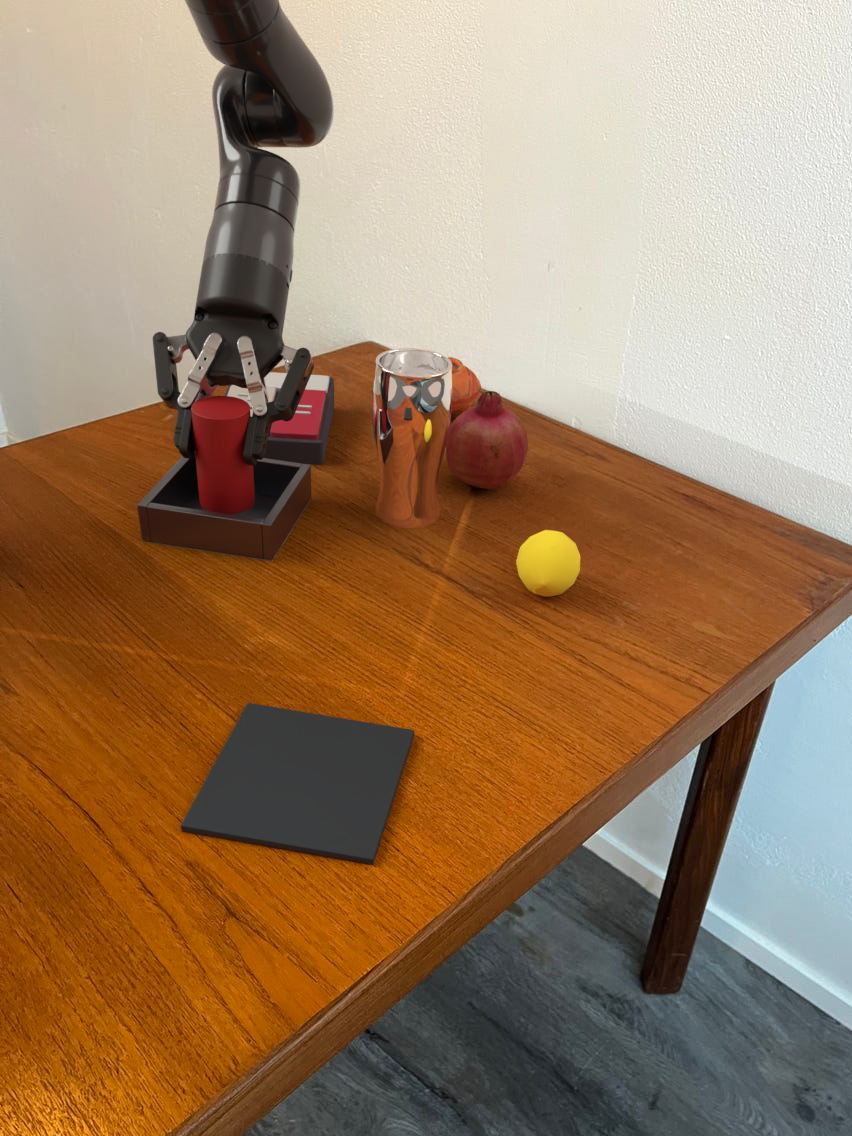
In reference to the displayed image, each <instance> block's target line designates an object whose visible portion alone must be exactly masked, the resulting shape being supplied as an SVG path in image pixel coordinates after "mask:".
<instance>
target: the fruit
mask: <svg viewBox="0 0 852 1136" xmlns="http://www.w3.org/2000/svg"><path fill="white" fill-rule="evenodd" d="M528 452H529V438H528V434H527V430H526V428H525V426H524V423H523V422H522V420H521V418H520V417H519V416H518V415H517V414H515V412H513V411H511V410H510V409H507V408H505V407H504V405H503V400H502V396H501V394H500V393H499V392H497V391H494V390H489V391H484V392H482V394H481V395H479V398H478V399H477V402H476V405H475V406H472V408H470V409H468V410H466V411H465V412H463V413H460V414H459V415H458V416H457V417H456V418H455V419H454V420H453V422H451V423H450V428H449V433H448V439H447V443H446V447H445V454H446V455H445V456H446V462H447V464H448V467H449V470H450V472H451V473H452V474H453V475H454V476H455V477H456V478H457V479H458V480H460V481H461V482H462V483H464V484H466V485H469V486H472V487H474V488H479V489H488V490H489V489H497V488H501V487H502V486H503V485H505V484H506V483H508V482H509V481H510V480H512V479H514V478H515V477H517V475H518V474H519V472H521V470H522V468H523V466H524V464H525V462H526V458H527V455H528Z"/></svg>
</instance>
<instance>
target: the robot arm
mask: <svg viewBox="0 0 852 1136" xmlns="http://www.w3.org/2000/svg"><path fill="white" fill-rule="evenodd" d="M184 2H185V4H186V6H187V9H188V11H189V13H190V15H191V18H192V21H193V22H194V24H195V27H196V28H197V31H198V34H199V36H200V38H201V40H202V42H203V44H204V46H205V48H206V50H207V51H208V52H209V54H210V55H211V56H212V57H213V58H214V59H215V60H216V61H218V62H219V63H221V64H223V66H222V67H221V68H220V69H219V71H218V72H217V74H216V76H215V78H214V79H213V83H212V89H211V101H212V111H213V118H214V122H215V128H216V135H217V137H216V138H217V146H218V147H217V148H218V157H219V158H218V161H219V162H218V163H219V180H218V185H217V191H216V197H215V202H214V210H213V215H212V220H211V224H210V226H209V229H208V232H207V236H206V239H205V240H206V241H205V245H204V246H205V247H204V251H203V258H202V265H201V271H200V277H199V283H198V288H197V295H196V301H195V308H194V317H193V321H192V323H191V325H190V326H189V327H188V329H187V330H186V331H185V334H179V335H171V336H167V334H166V333H164V332H163V331H157V332H155V333H154V334H153V336H152V347H153V357H154V369H155V378H156V379H155V380H156V388H157V394H158V396H159V397H160V398H161V400H162V401H163V402H164V404H165V405H166V407H168V409H171V410H176V411H177V414H176V419H175V420H176V421H175V426H174V433H173V439H172V440H173V444H174V446H175V447H176V448H177V450H178V452H179V453H180V454H179V455H181V457H182V456H183V457H184V458H189V459H193V458H194V453H195V444H194V433H193V422H192V411H191V407H192V405H193V403H194V402H196V401H197V400H200V399H202V398H206V397H211V396H213V394H214V392H215V390H216V389H217V388H218V387H217V386H219V387H221V386H222V387H226V386H227V387H228V385H235V386H238V387H241V388H247V389H248V391H249V395H250V400H251V404H252V409H253V415H252V417H251V416H249V419H248V426H247V433H246V439H245V446H244V453H243V459H244V461H245V462H246V464H247V465H251V466H256V464H257V459H258V460H262V459H263V457H264V456H265V452H266V445H267V438H268V432H269V427H270V425H271V424H272V423H273V422H275V421H279V420H283V421H290V420H291V419H292V418H293V416H294V414H295V412H296V409H297V407H298V405H299V402H300V400H301V397H302V395H303V393H304V390H305V388H306V386H307V383H308V381H309V378H310V376H311V375H313V374H312V373H313V371H314V369H315V363H314V360H313V357H312V355H311V353H310V350H309V349H308V348H306V347H300V348H298V349H296V348H293V347H290V346H288V345H285V342H284V340H283V333H284V327H285V319H286V312H287V306H288V300H289V299H288V297H289V291H290V285H291V283H292V279H293V273H294V271H293V264H294V241H295V240H294V238H295V231H296V224H297V217H298V210H299V204H300V196H301V179H300V176H299V173H298V171H297V170H296V168H295V167H294V165H293V164H291V162H289V161H288V160H287V159H286V158H284V157H282V156H280V155H279V154H277V153H274V152H272V151H269V150H266V149H262V148H294V149H295V148H300V149H301V148H311V147H314V146H317V145H318V144H319V145H320V143H321V142H323V141H324V140H325V139H326V137H327V136H328V134H329V133H330V131H331V128H332V126H333V121H334V109H335V108H334V107H335V106H334V100H333V99H334V98H333V94H332V90H331V86H330V84H329V81H328V78H327V76H326V74H325V72H324V69H323V68H322V66H321V65H320V63H319V61H318V60H317V59H316V57H315V56H314V54H313V52H312V51H311V50H310V48H309V46H307V44H306V43H305V40H303V38H302V36H301V35H300V34H299V32H298V31H297V29H296V28H295V26H294V25H293V24H292V22H291V20H290V19H289V17H288V16H287V15H286V13H285V12H284V9H283V8H282V6H281V3H280V0H184ZM188 350H189V351H190V353H191V354H192V356H193V358H194V360H195V362H194V364H193V366H192V367H191V369H190V371H189V372H188V375H187V381H186V383H185V385H184V387H183V388H182V390H181V391H180V389H179V377H178V369H177V368H178V367H177V364H179V363H181V361H183V358H184V353H185V352H186V351H188ZM282 360H283V361H284V365H283V366H284V370H285V371H286V372H285V373H287V375H286V377H285V380H284V382H283V384H282V387H281V389H280V391H279V394H278V396H277V399H276V401H272V402H269V401H268V400H269V398H268V393H267V389H266V384H265V379H264V378H265V376H266V375H267V374H268V373H269V372H272V371H273V370H274V369H275V368H276V367H277V366H278V365H279V364H280V362H282Z"/></svg>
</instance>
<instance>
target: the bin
mask: <svg viewBox="0 0 852 1136" xmlns="http://www.w3.org/2000/svg"><path fill="white" fill-rule="evenodd" d="M253 472H254V491H255V503H254V505H253V506H252V507H251V508H250V509H248V510H247V511H244V512H241V513H237V514H224V513H217V512H210V511H207V510H205V509H204V508H202V506H201V505H200V500H199V489H198V478H197V467H196V456H195V453H194V458H193V459H189V458H184V457H183V456H182V455H181V457H180V458H179V459H178V460H177V461H176V462H175V463H174V465H172V466H171V468H169V470H168V471H167V472H166V473H165V474H164V475H163V477H161V479H160V480H159V481H158V482H157V483H156V484H155V485H154V486H153V488H151V489H150V491H149V492H148V493H147V494H146V495H145V496H144V497H143V498H142V499H141V500H140V501H139V502H138V504H137V505H136V506H137V514H138V522H139V529H140V534H141V541H142V542H143V543H148V544H149V543H150V544H156V545H161V546H162V545H163V546H169V547H174V548H175V547H176V548H182V549H188V550H196V551H201V552H209V553H215V554H221V555H228V556H235V557H241V558H247V559H254V560H262V561H267V562H273V561H274V559H275V558H276V556H277V555H278V553H279V552H280V550H281V549H282V547H283V545H284V544H285V542H286V541H287V539H288V537H289V536H290V534H291V532H292V531H293V529H294V528H295V526H296V525H297V523H298V521H299V519H300V518H301V516H302V515H303V514H304V512H305V510H306V509H307V507H308V505H309V504H310V502H311V501H312V466H311V464H301V463H294V462H287V461H281V460H274V459H267V458H263V459H262V460H258V459H257V464H256V466H253Z"/></svg>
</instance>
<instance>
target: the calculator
mask: <svg viewBox="0 0 852 1136" xmlns="http://www.w3.org/2000/svg"><path fill="white" fill-rule="evenodd" d="M286 375H287V372H274V371H270V372H269V373H268V374H267V375H266V376H265V378H264V379H265V384H266V389H267V393H268V398H269V400H268V401H269V402H272V401H276V399H277V396H278V394H279V391H280V389H281V387H282V384H283V382H284V380H285V377H286ZM224 396H231V397H236V398H239V399H242V400H244V401H246V402H247V403H248V404H249V406H250V416H251V417H252V415H253V409H252V404H251V400H250V395H249V391H248V389H247V388H241V387H238V386H235V385H227V388H226V391H225V394H224ZM334 412H335V379H334V378H333V377H332V376H329V375H325V374H324V375H322V374H311V376H310V378H309V381H308V383H307V386H306V388H305V390H304V393H303V395H302V397H301V400H300V402H299V405H298V407H297V409H296V412H295V414H294V416H293V418H292V419H291V420H290V421H283V420H279V421H275V422H273V423H272V424H271V425H270V427H269V432H268V438H267V445H266V452H265V456H264V457H263V458H267V459H274V460H281V461H287V462H294V463H301V464H308V465H314V466H321V465H324V463H325V458H326V453H327V447H328V441H329V436H330V431H331V424H332V421H333V417H334Z"/></svg>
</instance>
